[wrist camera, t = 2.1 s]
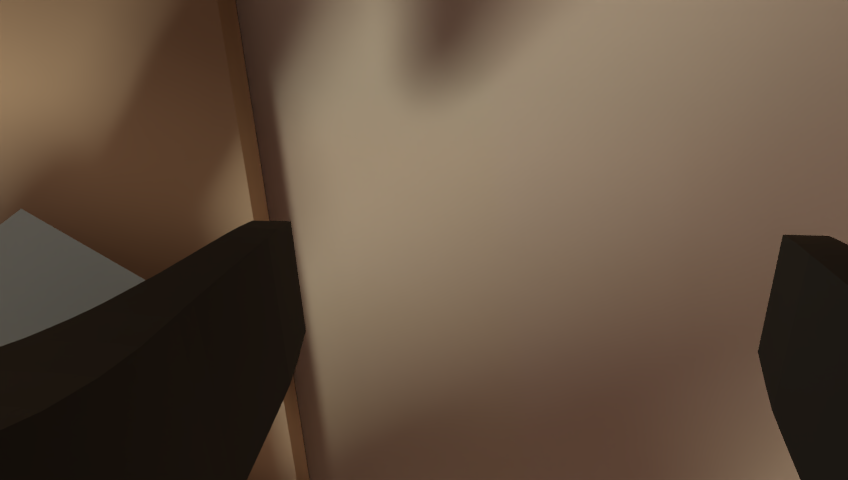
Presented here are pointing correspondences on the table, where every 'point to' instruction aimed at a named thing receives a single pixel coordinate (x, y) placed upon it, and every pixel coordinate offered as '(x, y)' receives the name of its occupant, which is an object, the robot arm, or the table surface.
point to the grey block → (50, 277)
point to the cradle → (136, 141)
